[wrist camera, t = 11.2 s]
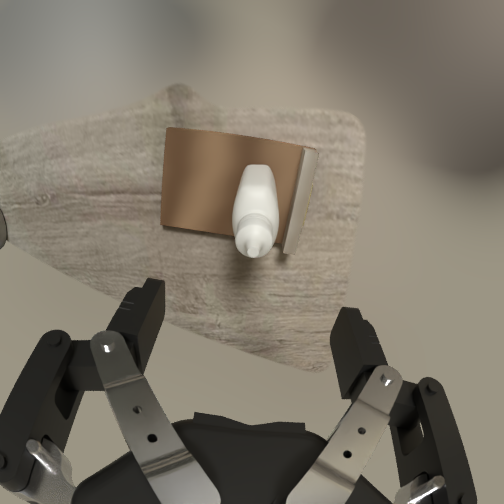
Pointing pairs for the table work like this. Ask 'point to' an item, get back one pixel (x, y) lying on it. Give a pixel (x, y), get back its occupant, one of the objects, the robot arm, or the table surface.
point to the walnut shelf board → (232, 180)
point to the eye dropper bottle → (255, 212)
